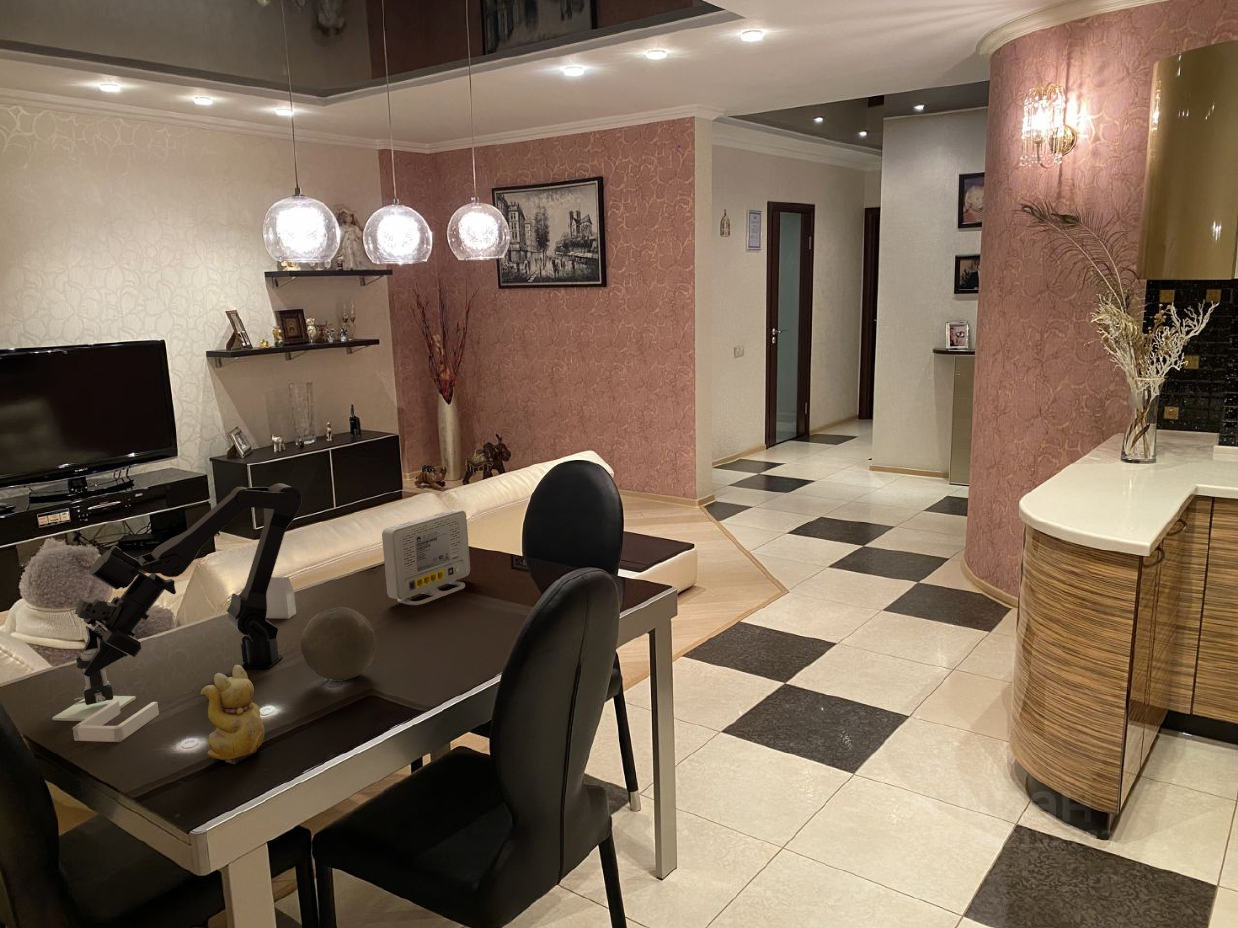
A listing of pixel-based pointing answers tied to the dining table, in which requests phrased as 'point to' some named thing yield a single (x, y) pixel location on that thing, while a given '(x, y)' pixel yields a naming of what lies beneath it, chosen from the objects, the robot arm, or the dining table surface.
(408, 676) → the dining table surface
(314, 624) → the cantaloupe
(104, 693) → the push button
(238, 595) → the robot arm
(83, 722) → the white u-shaped bracket
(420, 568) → the network device
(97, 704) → the mat
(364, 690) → the dining table surface
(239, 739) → the decorative figurine
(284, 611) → the white faceted block
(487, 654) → the dining table surface
